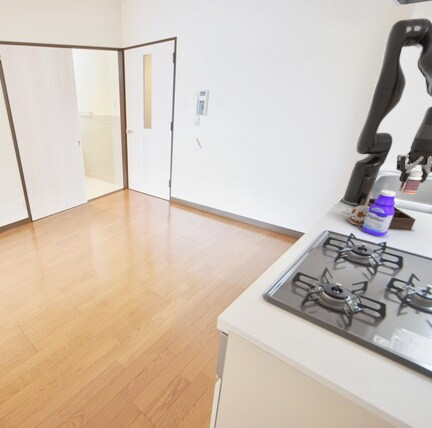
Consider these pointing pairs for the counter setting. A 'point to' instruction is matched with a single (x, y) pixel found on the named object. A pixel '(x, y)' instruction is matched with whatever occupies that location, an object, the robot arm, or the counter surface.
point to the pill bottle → (411, 182)
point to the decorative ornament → (360, 212)
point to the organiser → (395, 217)
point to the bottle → (380, 214)
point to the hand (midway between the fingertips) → (411, 181)
